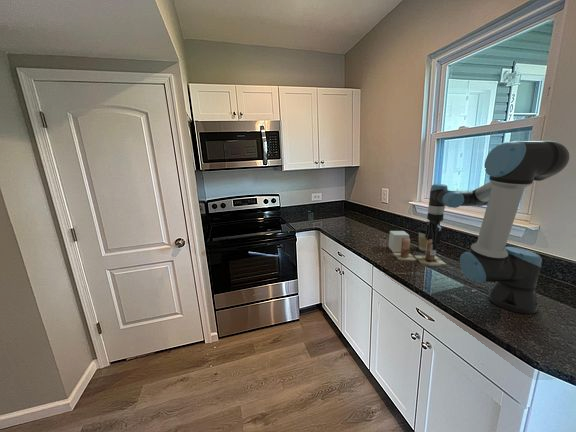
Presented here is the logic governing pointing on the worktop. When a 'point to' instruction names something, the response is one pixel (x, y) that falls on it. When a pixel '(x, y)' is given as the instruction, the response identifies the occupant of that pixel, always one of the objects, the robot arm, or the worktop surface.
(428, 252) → the peg
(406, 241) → the wooden post on base
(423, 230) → the coffee cup
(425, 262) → the socket board
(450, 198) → the robot arm
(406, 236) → the block
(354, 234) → the worktop surface
